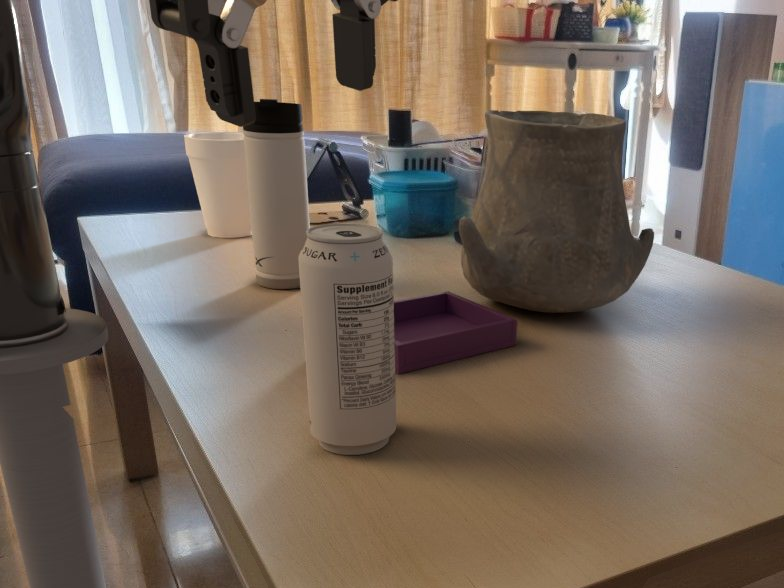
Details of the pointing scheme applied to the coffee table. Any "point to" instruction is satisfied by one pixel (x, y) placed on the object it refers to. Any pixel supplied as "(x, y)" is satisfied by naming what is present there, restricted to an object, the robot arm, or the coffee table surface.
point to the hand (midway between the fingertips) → (299, 103)
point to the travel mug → (277, 191)
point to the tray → (446, 330)
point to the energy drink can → (349, 337)
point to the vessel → (552, 214)
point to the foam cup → (221, 181)
